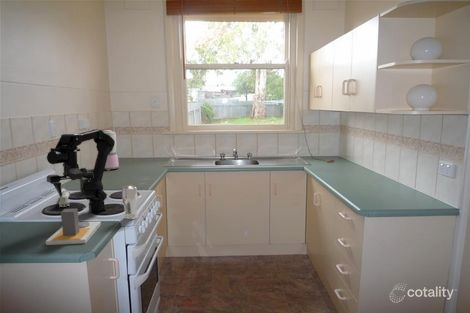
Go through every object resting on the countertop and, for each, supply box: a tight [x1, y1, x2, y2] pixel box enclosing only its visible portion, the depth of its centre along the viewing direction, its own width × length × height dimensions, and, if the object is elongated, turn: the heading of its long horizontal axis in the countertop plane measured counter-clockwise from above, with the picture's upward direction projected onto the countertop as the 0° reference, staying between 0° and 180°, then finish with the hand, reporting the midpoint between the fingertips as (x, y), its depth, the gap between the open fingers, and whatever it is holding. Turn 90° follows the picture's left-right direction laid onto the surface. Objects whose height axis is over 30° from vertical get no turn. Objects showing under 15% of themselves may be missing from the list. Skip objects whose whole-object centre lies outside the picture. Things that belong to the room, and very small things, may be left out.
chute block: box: [60, 208, 80, 236], centre depth 136 cm, size 4×5×10 cm
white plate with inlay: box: [45, 221, 102, 246], centre depth 140 cm, size 20×15×2 cm
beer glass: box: [121, 185, 138, 221], centre depth 159 cm, size 7×7×15 cm
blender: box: [99, 129, 120, 172], centre depth 269 cm, size 16×12×32 cm
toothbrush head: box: [58, 190, 71, 208], centre depth 185 cm, size 5×7×25 cm
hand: (71, 195), depth 153 cm, fingers open, 9 cm apart
